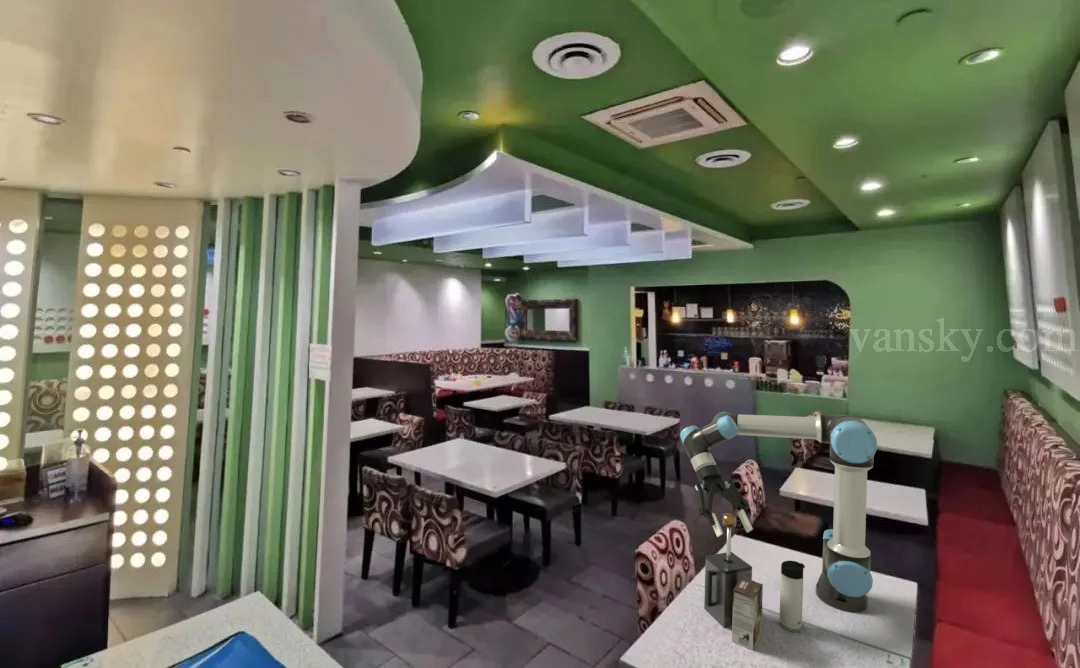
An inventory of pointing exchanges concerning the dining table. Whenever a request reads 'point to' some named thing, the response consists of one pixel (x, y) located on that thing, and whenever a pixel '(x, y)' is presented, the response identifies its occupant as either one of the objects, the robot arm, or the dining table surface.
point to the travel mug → (791, 595)
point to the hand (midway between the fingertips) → (735, 533)
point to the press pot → (723, 585)
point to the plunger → (729, 531)
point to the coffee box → (747, 613)
